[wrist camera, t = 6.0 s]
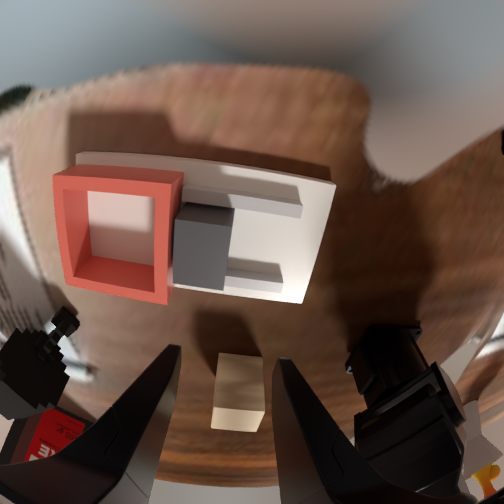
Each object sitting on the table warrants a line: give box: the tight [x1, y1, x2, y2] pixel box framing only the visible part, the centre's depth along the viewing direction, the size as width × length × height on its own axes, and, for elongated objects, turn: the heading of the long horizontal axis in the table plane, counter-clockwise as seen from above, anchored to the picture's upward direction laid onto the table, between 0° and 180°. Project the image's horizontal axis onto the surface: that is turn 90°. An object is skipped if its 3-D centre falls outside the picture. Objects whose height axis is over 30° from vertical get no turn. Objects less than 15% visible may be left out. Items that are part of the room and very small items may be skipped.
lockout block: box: [211, 353, 265, 432], centre depth 23 cm, size 4×4×6 cm
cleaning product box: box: [0, 406, 94, 465], centre depth 26 cm, size 16×9×20 cm, turn 67°
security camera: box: [0, 306, 80, 420], centre depth 20 cm, size 7×18×10 cm, turn 125°
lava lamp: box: [462, 400, 503, 498], centre depth 22 cm, size 9×9×35 cm
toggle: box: [173, 202, 235, 291], centre depth 17 cm, size 3×4×3 cm
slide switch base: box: [53, 151, 336, 305], centre depth 17 cm, size 17×9×4 cm, turn 81°
